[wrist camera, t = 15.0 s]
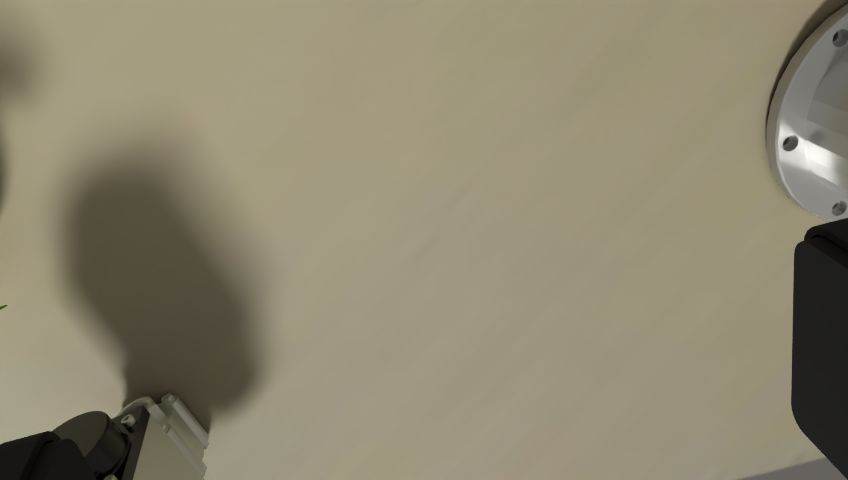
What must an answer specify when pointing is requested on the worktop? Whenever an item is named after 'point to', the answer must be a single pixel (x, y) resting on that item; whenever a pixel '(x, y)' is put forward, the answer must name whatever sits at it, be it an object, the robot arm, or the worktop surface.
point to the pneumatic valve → (141, 441)
